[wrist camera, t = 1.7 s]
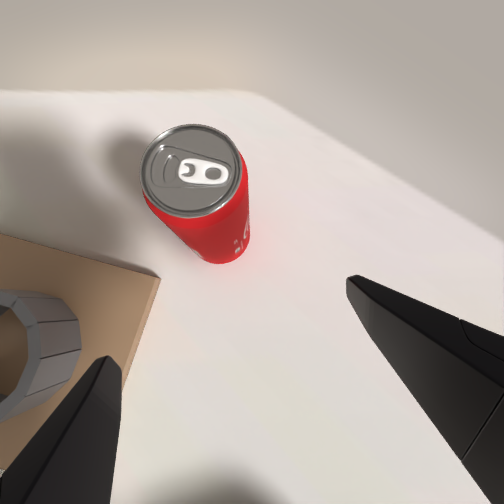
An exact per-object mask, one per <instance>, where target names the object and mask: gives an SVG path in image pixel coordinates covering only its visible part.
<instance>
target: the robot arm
mask: <svg viewBox="0 0 504 504" xmlns="http://www.w3.org/2000/svg"><path fill="white" fill-rule="evenodd" d="M346 294H347V297H348V300H349V301H350V303H351V305H352V307H353V308H354V310H355V312H356V314H357V315H358V317H359V319H360V321H361V322H362V324H363V326H364V328H365V329H366V331H367V333H368V334H369V336H370V337H371V339H372V340H373V341H374V343H375V344H376V345H377V347H378V348H379V350H380V351H381V352H382V354H383V355H384V356H385V358H386V359H387V361H388V362H389V363H390V365H391V366H392V367H393V369H394V370H395V372H396V373H397V374H398V376H399V377H400V378H401V380H402V381H403V383H404V384H405V385H406V387H407V388H408V389H409V391H410V392H411V394H412V395H413V396H414V398H415V399H416V400H417V402H418V403H419V405H420V406H421V407H422V409H423V410H424V411H425V413H426V414H427V416H428V417H429V418H430V420H431V421H432V422H433V424H434V425H435V427H436V428H437V429H438V431H439V432H440V433H441V435H442V436H443V438H444V439H445V440H446V442H447V443H448V444H449V446H450V447H451V449H452V450H453V451H454V453H455V454H456V455H457V457H458V458H459V460H461V463H462V464H463V465H464V467H465V468H466V470H467V471H468V472H469V474H470V475H471V476H472V478H473V479H474V481H475V482H476V483H477V485H478V486H479V487H480V489H481V490H482V492H483V493H484V494H485V496H486V497H487V498H488V500H489V501H490V503H491V504H504V336H501V335H499V334H496V333H494V332H491V331H489V330H486V329H484V328H481V327H479V326H477V325H474V324H472V323H469V322H467V321H465V320H462V319H460V320H459V318H458V317H455V316H453V315H451V314H448V313H446V312H444V311H441V310H439V309H437V308H434V307H432V306H430V305H427V304H425V303H423V302H420V301H418V300H416V299H413V298H411V297H409V296H406V295H404V294H402V293H399V292H397V291H395V290H392V289H390V288H388V287H386V286H383V285H381V284H379V283H376V282H374V281H372V280H369V279H367V278H365V277H362V276H360V275H354V276H350V277H348V278H347V279H346ZM121 401H122V370H121V368H120V366H119V365H118V364H117V363H116V362H115V361H114V359H113V358H112V357H111V356H109V355H106V356H103V357H100V358H97V359H96V360H95V361H94V362H93V363H92V364H91V365H90V367H89V368H88V369H87V370H86V372H85V373H84V374H83V375H82V377H81V378H80V379H79V380H78V381H77V383H76V384H75V385H74V386H73V388H72V389H71V390H70V391H69V393H68V394H67V395H66V396H65V398H64V399H63V400H62V401H61V402H60V404H59V405H58V406H57V407H56V409H55V410H54V411H53V412H52V414H51V415H50V416H49V417H48V419H47V420H46V421H45V422H44V423H43V425H42V426H41V427H40V428H39V430H38V431H37V432H36V433H35V435H34V436H33V437H32V438H31V439H30V441H29V442H28V443H27V444H26V446H25V447H24V448H23V449H22V451H21V452H20V453H19V454H18V456H17V457H16V458H15V459H14V460H13V462H12V463H11V464H10V465H9V467H8V468H7V469H6V470H5V472H4V473H3V474H2V477H0V504H110V498H111V490H112V483H113V475H114V467H115V460H116V452H117V444H118V437H119V429H120V421H121Z"/></svg>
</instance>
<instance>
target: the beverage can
mask: <svg viewBox="0 0 504 504" xmlns="http://www.w3.org/2000/svg"><path fill="white" fill-rule="evenodd" d="M139 176H140V183H141V186H142V190H143V195H144V198H145V200H146V202H147V204H148V206H149V207H150V209H151V210H152V211H153V212H154V214H155V215H156V216H158V217H159V218H160V219H161V220H162V221H163V222H164V223H165V224H166V225H167V226H168V227H169V228H170V229H171V230H172V231H173V232H174V233H175V234H176V235H177V236H178V237H179V238H180V239H181V240H183V241H184V242H185V243H186V244H187V245H188V246H189V247H190V248H191V249H192V250H193V251H194V252H195V253H196V254H197V255H198V256H199V257H200V258H202V259H203V260H205V261H207V262H210V263H214V264H224V263H228V262H231V261H233V260H235V259H237V258H238V257H239V256H240V255H241V254H242V253H243V252H244V251H245V249H246V248H247V245H248V243H249V238H250V225H249V196H248V173H247V167H246V164H245V161H244V159H243V157H242V155H241V154H240V152H239V151H238V149H237V148H236V146H235V144H234V143H233V142H232V140H231V139H230V138H229V137H228V136H227V135H226V134H224V133H222V132H221V131H219V130H217V129H215V128H212V127H209V126H206V125H200V124H186V125H180V126H177V127H174V128H171V129H169V130H167V131H165V132H163V133H162V134H160V135H159V136H158V137H157V138H155V139H154V140H153V141H152V142H151V144H150V145H149V146H148V148H147V149H146V151H145V153H144V155H143V157H142V160H141V164H140V171H139Z"/></svg>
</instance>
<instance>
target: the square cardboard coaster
mask: <svg viewBox="0 0 504 504" xmlns="http://www.w3.org/2000/svg"><path fill="white" fill-rule="evenodd" d="M160 281H161V279H159V278H156V277H152V276H149V275H145V274H142V273H138V272H135V271H131V270H128V269H124V268H121V267H117V266H114V265H110V264H106V263H103V262H99V261H96V260H92V259H89V258H85V257H82V256H78V255H75V254H71V253H67V252H64V251H60V250H57V249H53V248H50V247H46V246H43V245H39V244H36V243H32V242H28V241H25V240H21V239H18V238H14V237H11V236H7V235H4V234H0V469H3V470H6V469H7V468H8V467H9V465H10V464H11V463H12V462H13V460H14V459H15V458H16V457H17V456H18V454H19V453H20V452H21V451H22V449H23V448H24V447H25V446H26V444H27V443H28V442H29V441H30V439H31V438H32V437H33V436H34V435H35V433H36V432H37V431H38V430H39V428H40V427H41V426H42V425H43V423H44V422H45V421H46V420H47V419H48V417H49V416H50V415H51V414H52V412H53V411H54V410H55V409H56V407H57V406H58V405H59V404H60V402H61V401H62V400H63V399H64V398H65V396H66V395H67V394H68V393H69V391H70V390H71V389H72V388H73V386H74V385H75V384H76V383H77V381H78V380H79V379H80V378H81V377H82V375H83V374H84V373H85V372H86V370H87V369H88V368H89V367H90V365H91V364H92V363H93V362H94V361H95V360H96V359H97V358H100V357H103V356H106V355H109V356H111V357H112V358H113V359H114V361H115V362H116V363H117V364H118V365H119V366H120V368H121V370H122V390H123V387H124V384H125V381H126V378H127V375H128V373H129V370H130V367H131V364H132V361H133V358H134V355H135V353H136V350H137V347H138V344H139V341H140V338H141V335H142V333H143V330H144V327H145V324H146V321H147V318H148V315H149V313H150V310H151V307H152V304H153V301H154V298H155V295H156V293H157V290H158V287H159V284H160Z"/></svg>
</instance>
